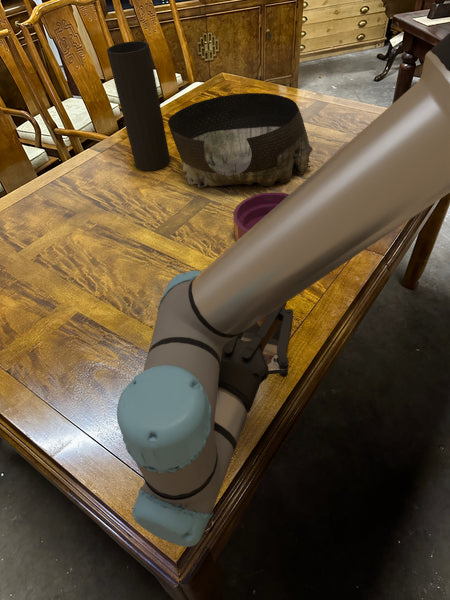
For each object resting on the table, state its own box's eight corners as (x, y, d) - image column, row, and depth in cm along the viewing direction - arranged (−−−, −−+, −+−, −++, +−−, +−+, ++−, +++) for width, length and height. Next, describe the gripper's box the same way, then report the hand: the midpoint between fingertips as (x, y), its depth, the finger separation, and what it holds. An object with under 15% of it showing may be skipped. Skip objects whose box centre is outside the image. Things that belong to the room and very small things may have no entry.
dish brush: (288, 333, 69) (292, 261, 58) (279, 358, 66) (281, 287, 55) (251, 324, 71) (248, 253, 60) (241, 348, 68) (235, 277, 57)
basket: (287, 212, 99) (289, 146, 88) (161, 189, 111) (148, 128, 100) (320, 157, 117) (325, 96, 105) (208, 142, 129) (202, 86, 117)
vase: (159, 173, 118) (134, 54, 96) (129, 169, 121) (98, 53, 100) (176, 156, 124) (156, 41, 103) (146, 153, 127) (121, 40, 106)
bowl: (322, 225, 94) (324, 204, 90) (286, 267, 85) (286, 245, 81) (259, 206, 102) (259, 185, 98) (220, 242, 93) (218, 222, 89)
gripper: (168, 400, 55) (230, 284, 70) (281, 436, 51) (322, 303, 66) (157, 367, 50) (227, 249, 65) (282, 403, 45) (327, 267, 60)
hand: (275, 276), depth 65 cm, fingers closed on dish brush, 2 cm apart
